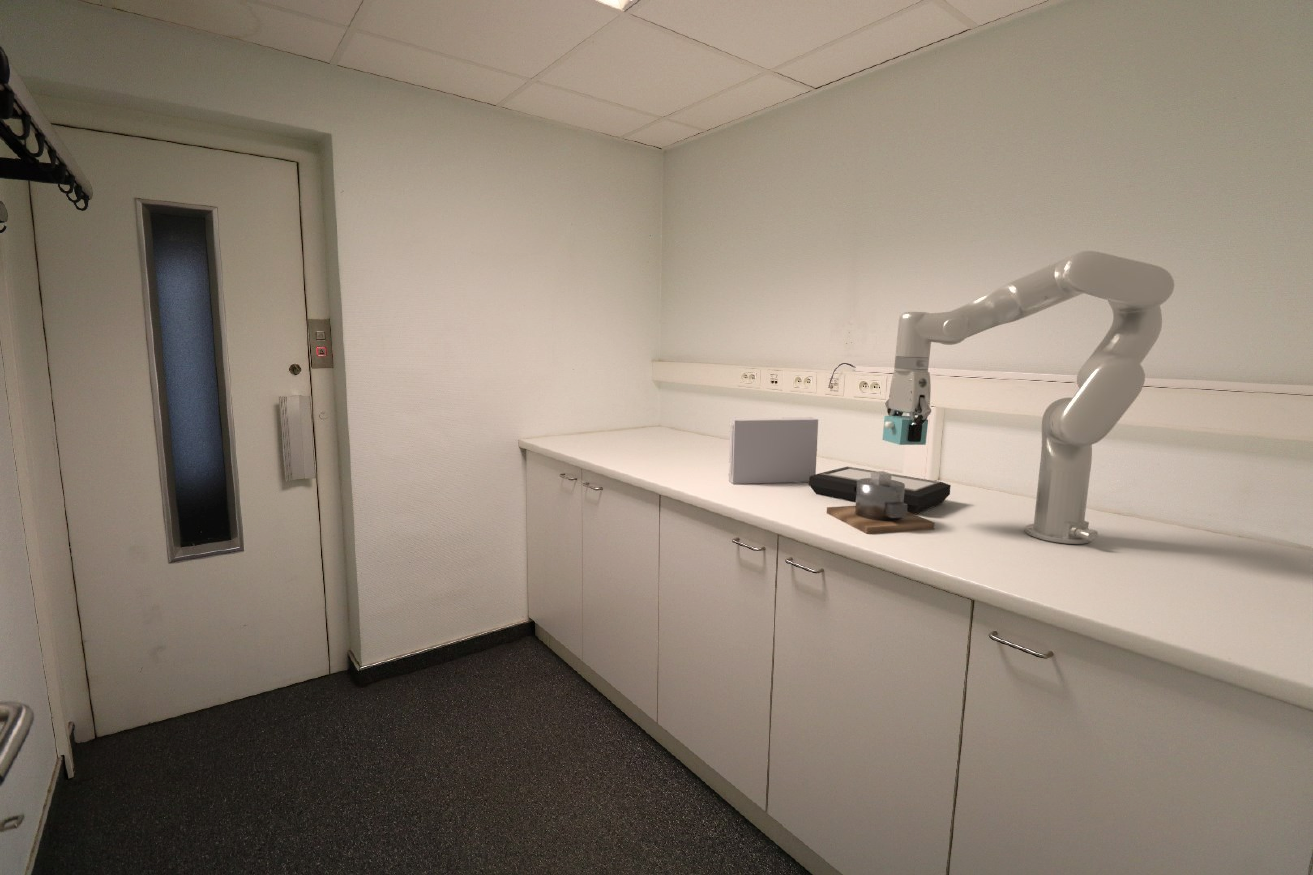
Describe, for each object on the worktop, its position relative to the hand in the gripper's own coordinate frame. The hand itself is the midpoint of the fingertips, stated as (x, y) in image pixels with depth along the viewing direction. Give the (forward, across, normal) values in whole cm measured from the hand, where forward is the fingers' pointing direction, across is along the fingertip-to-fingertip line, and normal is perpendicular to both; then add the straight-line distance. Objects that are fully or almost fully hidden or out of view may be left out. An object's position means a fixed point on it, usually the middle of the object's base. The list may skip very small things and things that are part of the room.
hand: (903, 438), depth 149 cm
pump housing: (+1, 0, 0) cm, 1 cm away
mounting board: (+21, +1, +4) cm, 21 cm away
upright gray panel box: (+22, +48, +12) cm, 54 cm away
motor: (+19, -1, +5) cm, 20 cm away
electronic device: (+21, +21, -8) cm, 31 cm away
